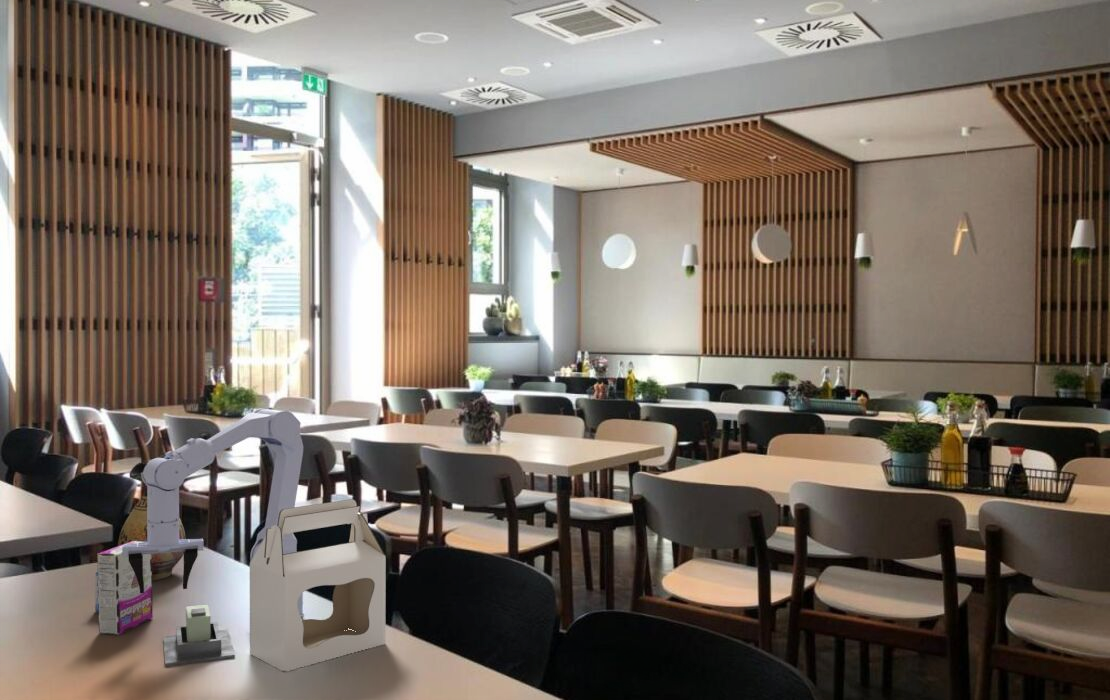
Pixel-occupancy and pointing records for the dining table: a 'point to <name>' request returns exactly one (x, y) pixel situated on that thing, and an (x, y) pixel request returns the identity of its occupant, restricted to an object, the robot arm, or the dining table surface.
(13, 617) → the dining table surface
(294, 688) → the dining table surface
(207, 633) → the pale green block
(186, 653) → the chassis
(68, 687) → the dining table surface
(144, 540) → the ceramic jug
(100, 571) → the candy bar box
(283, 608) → the gable box
